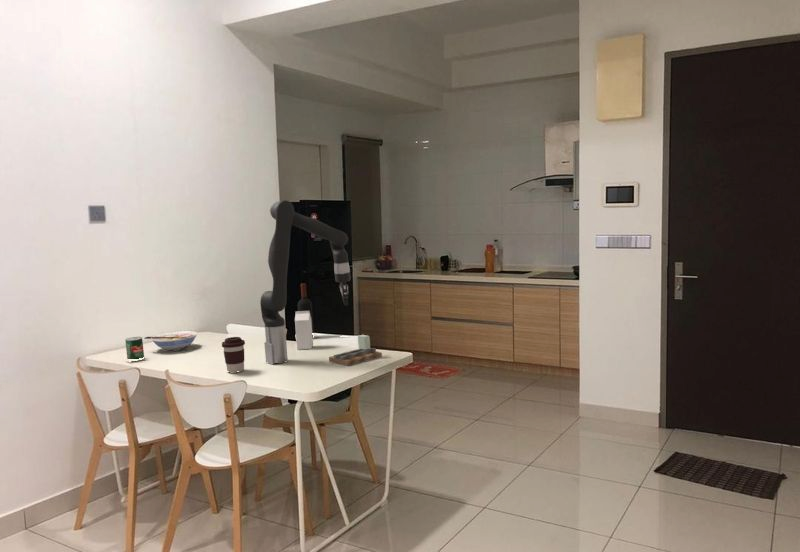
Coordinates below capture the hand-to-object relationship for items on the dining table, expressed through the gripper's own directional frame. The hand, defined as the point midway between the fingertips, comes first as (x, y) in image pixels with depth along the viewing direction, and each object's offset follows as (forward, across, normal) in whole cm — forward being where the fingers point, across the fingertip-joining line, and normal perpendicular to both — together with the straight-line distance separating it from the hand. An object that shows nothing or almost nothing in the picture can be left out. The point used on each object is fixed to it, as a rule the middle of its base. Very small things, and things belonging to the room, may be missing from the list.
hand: (345, 303), depth 315 cm
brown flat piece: (+21, +27, 0) cm, 34 cm away
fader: (+19, +24, +5) cm, 31 cm away
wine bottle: (+23, -30, -21) cm, 43 cm away
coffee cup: (+19, +28, -53) cm, 63 cm away
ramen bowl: (+20, -31, -90) cm, 97 cm away
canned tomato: (+19, -14, -106) cm, 109 cm away
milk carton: (+22, -6, -22) cm, 32 cm away
